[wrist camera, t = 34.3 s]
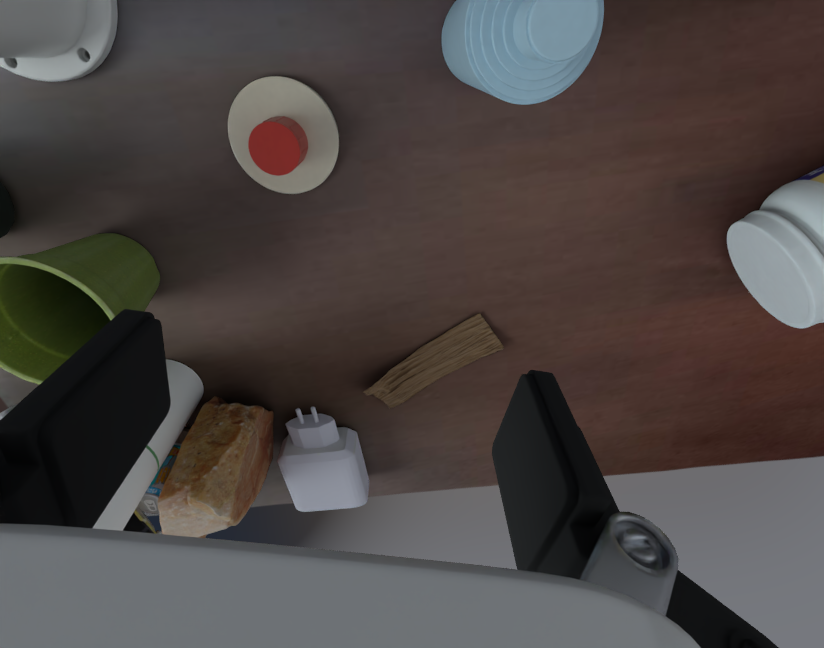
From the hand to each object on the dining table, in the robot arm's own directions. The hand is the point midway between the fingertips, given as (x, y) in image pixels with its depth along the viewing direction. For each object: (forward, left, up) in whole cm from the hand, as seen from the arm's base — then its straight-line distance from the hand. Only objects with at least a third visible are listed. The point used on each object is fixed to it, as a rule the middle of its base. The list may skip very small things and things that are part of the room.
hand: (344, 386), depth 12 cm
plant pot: (-6, -27, -31) cm, 41 cm away
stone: (+16, -32, -31) cm, 47 cm away
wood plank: (+18, -9, -30) cm, 35 cm away
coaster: (-6, -6, -30) cm, 31 cm away
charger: (+23, -26, -31) cm, 46 cm away
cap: (-6, -6, -30) cm, 31 cm away
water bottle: (-3, +11, -30) cm, 32 cm away
